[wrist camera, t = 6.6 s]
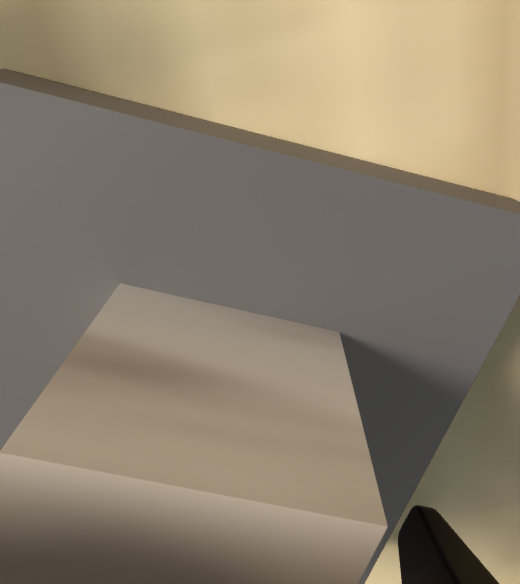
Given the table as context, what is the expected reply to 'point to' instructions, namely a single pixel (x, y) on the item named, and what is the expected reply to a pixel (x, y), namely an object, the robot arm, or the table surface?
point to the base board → (249, 255)
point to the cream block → (191, 455)
